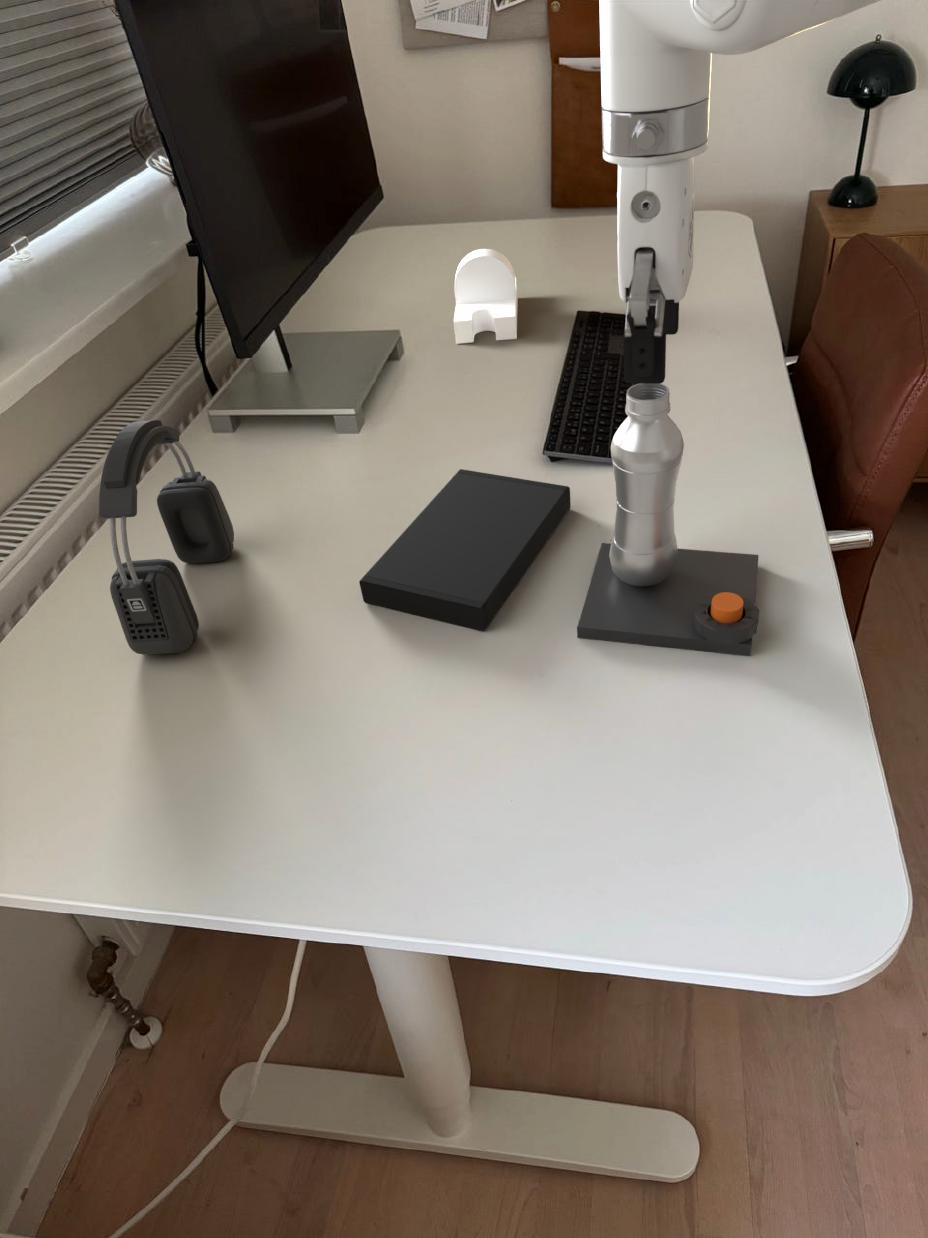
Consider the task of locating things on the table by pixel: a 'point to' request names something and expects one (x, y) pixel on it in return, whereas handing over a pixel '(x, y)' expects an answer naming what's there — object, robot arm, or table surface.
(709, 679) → the table surface
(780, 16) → the robot arm
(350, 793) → the table surface
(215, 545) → the headphones
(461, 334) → the block with arch cutout
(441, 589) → the external hard drive
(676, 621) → the scale
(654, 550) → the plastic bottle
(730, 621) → the button
